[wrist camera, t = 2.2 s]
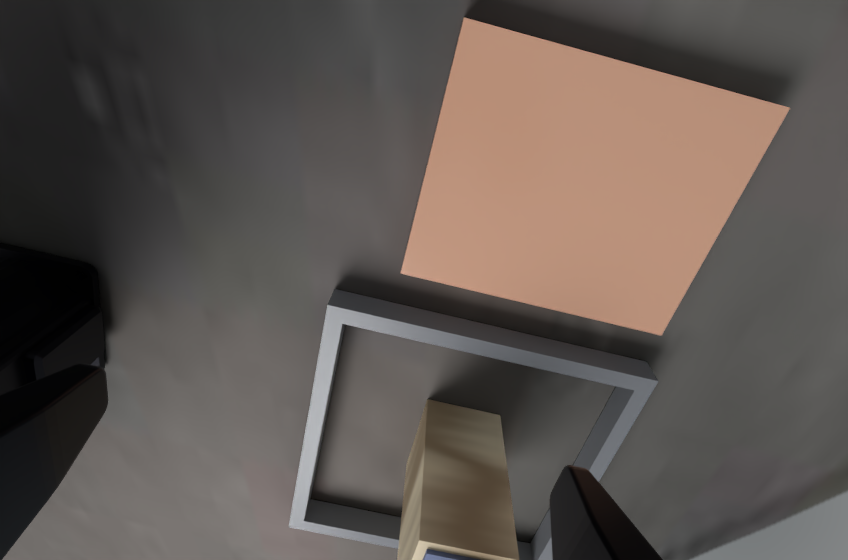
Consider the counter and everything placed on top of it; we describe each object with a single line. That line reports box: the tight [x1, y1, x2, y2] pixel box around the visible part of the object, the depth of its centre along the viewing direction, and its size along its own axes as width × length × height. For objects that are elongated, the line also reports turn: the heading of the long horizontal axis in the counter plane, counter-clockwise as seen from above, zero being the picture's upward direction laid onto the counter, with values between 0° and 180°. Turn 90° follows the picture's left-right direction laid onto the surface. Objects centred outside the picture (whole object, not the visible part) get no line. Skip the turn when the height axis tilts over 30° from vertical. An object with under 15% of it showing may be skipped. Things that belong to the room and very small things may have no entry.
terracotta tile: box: [401, 17, 790, 335], centre depth 20 cm, size 12×10×1 cm
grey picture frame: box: [289, 289, 658, 560], centre depth 26 cm, size 16×16×2 cm
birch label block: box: [397, 399, 519, 560], centre depth 23 cm, size 4×5×8 cm
